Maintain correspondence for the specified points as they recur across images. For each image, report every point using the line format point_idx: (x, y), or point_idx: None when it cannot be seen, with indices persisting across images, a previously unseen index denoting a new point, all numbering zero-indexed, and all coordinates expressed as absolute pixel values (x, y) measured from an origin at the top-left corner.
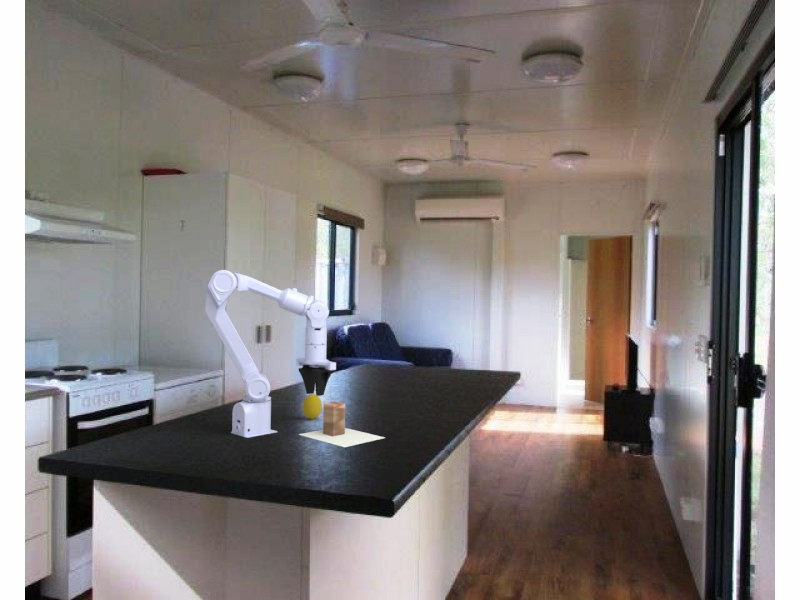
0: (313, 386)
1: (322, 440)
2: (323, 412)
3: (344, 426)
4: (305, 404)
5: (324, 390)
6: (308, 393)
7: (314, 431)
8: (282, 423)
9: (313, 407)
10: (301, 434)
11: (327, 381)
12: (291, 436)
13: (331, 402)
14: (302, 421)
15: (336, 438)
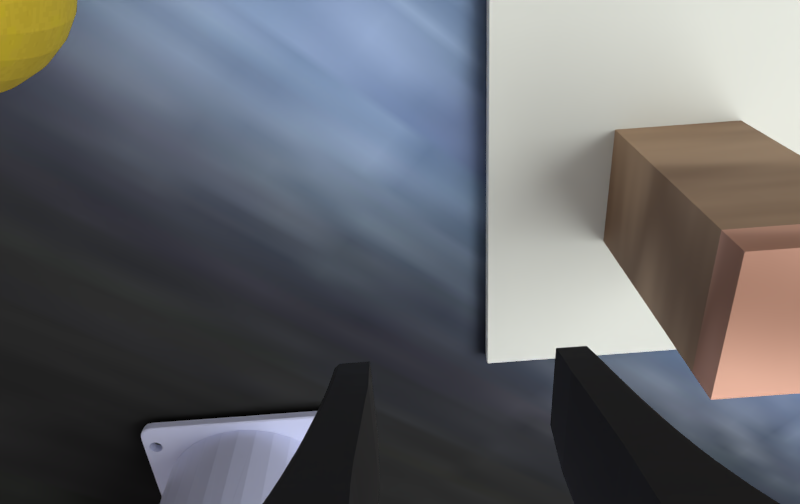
0: (366, 435)
1: None
2: (671, 339)
3: (775, 145)
4: None
5: (620, 384)
6: (376, 434)
7: (495, 244)
8: (29, 238)
9: (48, 34)
10: (505, 350)
11: (730, 474)
12: (455, 380)
13: (745, 313)
14: None
15: None
